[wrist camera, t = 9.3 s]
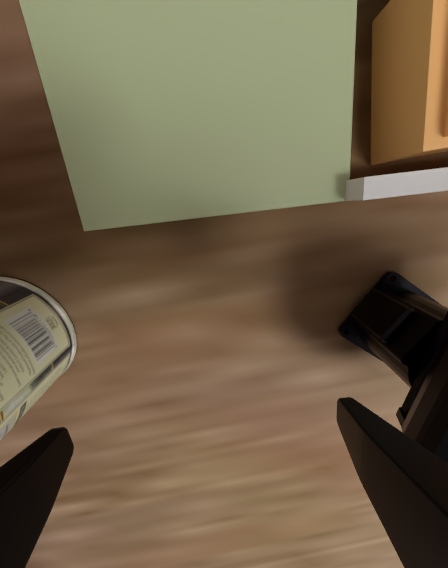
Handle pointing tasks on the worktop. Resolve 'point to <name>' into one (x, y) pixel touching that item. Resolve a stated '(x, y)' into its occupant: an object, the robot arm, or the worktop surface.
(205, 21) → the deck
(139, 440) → the worktop surface
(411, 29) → the orange stepped block
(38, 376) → the coffee can
